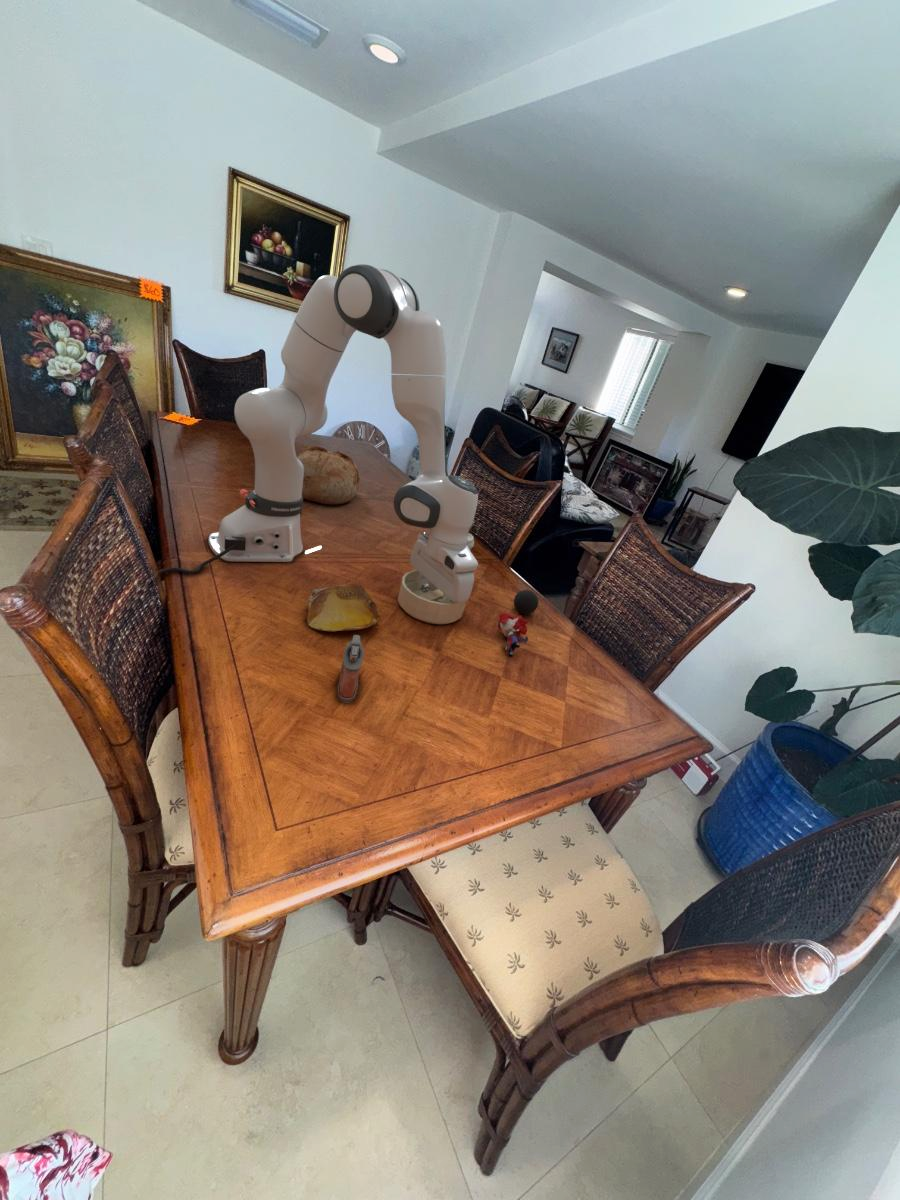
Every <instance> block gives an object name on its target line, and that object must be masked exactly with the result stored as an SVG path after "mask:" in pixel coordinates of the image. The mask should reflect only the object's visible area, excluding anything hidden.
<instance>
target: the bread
mask: <svg viewBox="0 0 900 1200" xmlns="http://www.w3.org/2000/svg"><path fill="white" fill-rule="evenodd" d="M297 458H298V459H299V460H300V461H301V462H302V464H303V466H304V477H303V488H302V496H303V500H304V499H305V500H307V501H309V502H313V503H317V504H321V505H331V506H332V505H333V506H334V505H336V506H337V505H341V504H345V503H348V502H350V501H352V500H353V499H354V498H355V497H356V494H357V492H358V490H359V488H360V483H361V476H360V471H359V468H358V466H357V465H356V463H355V461H354V460H353V458H352V457H351V456H350V455H348V454H347V453H344V452H342V451H340V450H337V451H332V452H331V451H329V450H328V448H327V447H325V446H319V445H312V446H309V447H307V448H304V449H303V450H302V451H301V452H300V453H299V454H298V456H297Z"/></svg>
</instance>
